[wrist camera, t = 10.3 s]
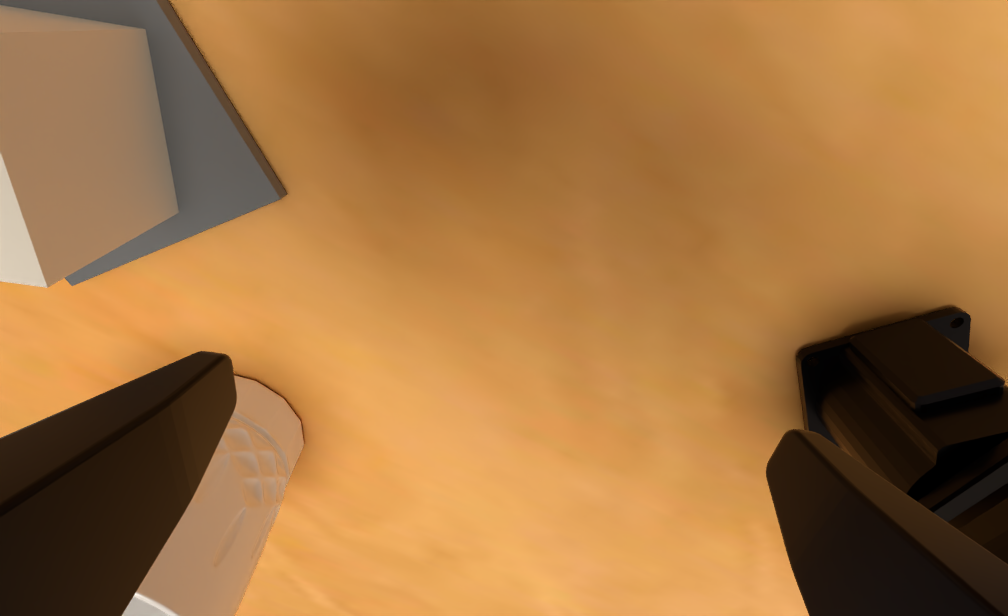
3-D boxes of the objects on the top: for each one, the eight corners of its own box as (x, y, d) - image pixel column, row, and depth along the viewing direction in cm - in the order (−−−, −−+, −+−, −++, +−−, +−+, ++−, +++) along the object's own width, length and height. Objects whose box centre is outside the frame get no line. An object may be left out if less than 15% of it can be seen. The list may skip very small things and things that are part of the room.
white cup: (287, 499, 27) (181, 722, 19) (138, 443, 25) (-57, 662, 17) (340, 405, 24) (241, 625, 15) (172, 332, 22) (-51, 535, 13)
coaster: (286, 194, 19) (280, 199, 18) (83, 279, 21) (72, 285, 20) (87, -130, 14) (71, -136, 14) (-150, 19, 16) (-172, 19, 16)
